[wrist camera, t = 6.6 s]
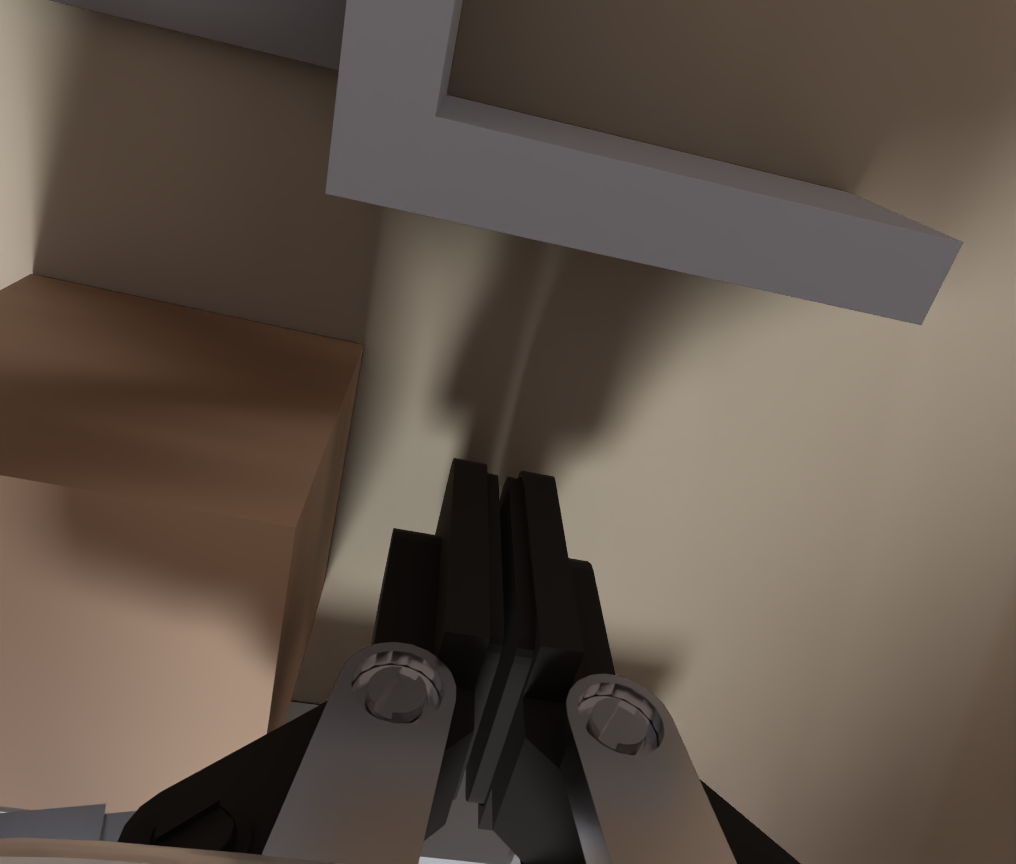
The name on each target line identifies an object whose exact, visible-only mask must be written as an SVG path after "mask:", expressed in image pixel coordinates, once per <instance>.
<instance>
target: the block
mask: <svg viewBox="0 0 1016 864" xmlns="http://www.w3.org/2000/svg"><path fill="white" fill-rule="evenodd" d="M363 348H364V345H362V344H357V343H352V342H347V341H343V340H338V339H333V338H329V337H324V336H319V335H315V334H310V333H305V332H301V331H296V330H291V329H287V328H282V327H277V326H272V325H268V324H263V323H258V322H254V321H249V320H244V319H240V318H235V317H230V316H226V315H221V314H216V313H212V312H207V311H202V310H198V309H193V308H188V307H183V306H179V305H174V304H169V303H165V302H160V301H155V300H151V299H146V298H141V297H137V296H132V295H127V294H123V293H118V292H113V291H108V290H104V289H99V288H94V287H90V286H85V285H80V284H76V283H71V282H66V281H62V280H57V279H52V278H48V277H43V276H38V275H34V274H30V275H28V276H26V277H25V278H23V279H21V280H19V281H17V282H15V283H13V284H11V285H10V286H8V287H6V288H4V289H2V290H0V806H3V807H11V808H19V809H28V810H40V809H51V808H62V807H73V806H84V805H95V804H106V814H107V813H118V812H128V811H137V810H138V808H139V807H140V806H141V805H143V804H144V803H146V802H147V801H148V800H150V799H151V798H153V797H154V796H155V795H157V794H158V793H160V792H161V791H163V790H165V789H167V788H169V787H171V786H172V785H174V784H176V783H178V782H180V781H182V780H183V779H185V778H187V777H189V776H191V775H193V774H194V773H196V772H198V771H200V770H202V769H204V768H205V767H207V766H209V765H211V764H213V763H215V762H216V761H218V760H220V759H222V758H224V757H226V756H227V755H229V754H231V753H233V752H235V751H236V750H238V749H240V748H242V747H244V746H246V745H247V744H249V743H251V742H253V741H255V740H257V739H258V738H260V737H262V736H264V735H266V734H268V733H269V732H271V731H273V730H275V729H277V728H279V727H280V726H282V725H284V724H285V720H286V717H287V713H288V710H289V706H290V702H291V699H292V695H293V692H294V688H295V685H296V681H297V678H298V674H299V671H300V667H301V664H302V660H303V657H304V653H305V650H306V646H307V643H308V639H309V636H310V632H311V629H312V625H313V622H314V618H315V614H316V611H317V607H318V604H319V600H320V597H321V593H322V590H323V586H324V580H325V574H326V568H327V562H328V556H329V550H330V544H331V538H332V532H333V526H334V520H335V514H336V508H337V503H338V497H339V491H340V485H341V479H342V473H343V467H344V461H345V455H346V449H347V443H348V437H349V431H350V425H351V419H352V413H353V407H354V401H355V395H356V389H357V383H358V377H359V371H360V365H361V359H362V354H363Z"/></svg>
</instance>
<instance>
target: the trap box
mask: <svg viewBox="0 0 1016 864" xmlns="http://www.w3.org/2000/svg"><path fill="white" fill-rule="evenodd" d="M51 1H55V2H59V3H63V4H68V5H72V6H76V7H80V8H84V9H88V10H92V11H96V12H101V13H105V14H109V15H113V16H117V17H121V18H125V19H129V20H134V21H138V22H142V23H146V24H150V25H154V26H158V27H162V28H166V29H171V30H175V31H179V32H183V33H187V34H191V35H195V36H199V37H204V38H208V39H212V40H216V41H220V42H224V43H228V44H232V45H236V46H241V47H245V48H249V49H253V50H257V51H261V52H265V53H269V54H274V55H278V56H282V57H286V58H290V59H294V60H298V61H302V62H307V63H311V64H315V65H319V66H323V67H327V68H331V69H335V70H339V74H338V83H337V92H336V101H335V110H334V119H333V128H332V137H331V146H330V155H329V164H328V173H327V182H326V191H325V194H329V195H334V196H338V197H343V198H348V199H352V200H357V201H361V202H366V203H370V204H375V205H379V206H384V207H388V208H393V209H397V210H402V211H406V212H411V213H415V214H420V215H425V216H429V217H434V218H438V219H443V220H447V221H452V222H456V223H461V224H465V225H470V226H474V227H479V228H483V229H488V230H493V231H497V232H502V233H506V234H511V235H515V236H520V237H524V238H529V239H533V240H538V241H542V242H547V243H551V244H556V245H560V246H565V247H570V248H574V249H579V250H583V251H588V252H592V253H597V254H601V255H606V256H610V257H615V258H619V259H624V260H628V261H633V262H637V263H642V264H647V265H651V266H656V267H660V268H665V269H669V270H674V271H678V272H683V273H687V274H692V275H696V276H701V277H705V278H710V279H714V280H719V281H724V282H728V283H733V284H737V285H742V286H746V287H751V288H755V289H760V290H764V291H769V292H773V293H778V294H782V295H787V296H791V297H796V298H801V299H805V300H810V301H814V302H819V303H823V304H828V305H832V306H837V307H841V308H846V309H850V310H855V311H859V312H864V313H868V314H873V315H878V316H882V317H887V318H891V319H896V320H900V321H905V322H909V323H914V324H918V325H922V323H923V321H924V319H925V317H926V315H927V313H928V311H929V309H930V307H931V305H932V303H933V301H934V299H935V297H936V295H937V293H938V291H939V289H940V287H941V285H942V283H943V281H944V279H945V277H946V275H947V273H948V271H949V269H950V267H951V265H952V263H953V261H954V259H955V257H956V255H957V253H958V251H959V249H960V247H961V245H962V243H963V242H961V241H959V240H956V239H954V238H952V237H949V236H947V235H945V234H943V233H940V232H938V231H936V230H933V229H931V228H929V227H927V226H924V225H922V224H920V223H917V222H915V221H913V220H910V219H908V218H906V217H904V216H901V215H899V214H897V213H894V212H892V211H890V210H888V209H885V208H883V207H881V206H878V205H876V204H874V203H872V202H869V201H867V200H865V199H862V198H860V197H858V196H856V195H853V194H851V193H849V192H845V191H841V190H837V189H833V188H829V187H825V186H820V185H816V184H812V183H808V182H804V181H800V180H796V179H792V178H787V177H783V176H779V175H775V174H771V173H767V172H763V171H759V170H755V169H750V168H746V167H742V166H738V165H734V164H730V163H726V162H722V161H718V160H713V159H709V158H705V157H701V156H697V155H693V154H689V153H685V152H681V151H676V150H672V149H668V148H664V147H660V146H656V145H652V144H648V143H644V142H639V141H635V140H631V139H627V138H623V137H619V136H615V135H611V134H606V133H602V132H598V131H594V130H590V129H586V128H582V127H578V126H574V125H569V124H565V123H561V122H557V121H553V120H549V119H545V118H541V117H537V116H532V115H528V114H524V113H520V112H516V111H512V110H508V109H504V108H500V107H495V106H491V105H487V104H483V103H479V102H475V101H471V100H467V99H463V98H458V97H454V96H450V95H447V90H448V84H449V78H450V73H451V67H452V61H453V55H454V50H455V44H456V38H457V32H458V26H459V21H460V15H461V9H462V3H463V0H51ZM317 706H319V705H314V704H306V703H298V702H290V706H289V710H288V713H287V717H286V720H285V724H286V723H288V722H290V721H291V720H293V719H295V718H297V717H299V716H301V715H302V714H304V713H306V712H308V711H310V710H312V709H313V708H315V707H317ZM465 783H466V769H465V772H464V775H463V779H462V782H461V785H460V788H459V792H458V795H457V798H456V799H455V800H453V801H452V804H451V808H450V811H449V814H448V817H447V821H446V824H445V825H444V826H443V827H442V828H440V829H439V830H438V831H436V832H435V833H434V834H433V835H431V836H430V837H429V838H428V839H426V840H425V841H424V842H423V846H422V850H421V854H420V859H419V863H418V864H507V857H508V853H509V850H510V848H509V847H508V846H507V845H506V844H505V843H504V842H503V841H502V840H501V839H500V837H499V836H498V835H497V834H496V833H495V832H494V831H491V830H483V829H478V803H473V802H467V801H466V797H465ZM18 811H29V810H28V809H19V808H11V807H3V806H0V813H7V812H18Z"/></svg>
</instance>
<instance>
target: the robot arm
mask: <svg viewBox="0 0 1016 864" xmlns="http://www.w3.org/2000/svg"><path fill="white" fill-rule="evenodd" d="M465 769H466V783H465V797H466V801H467V802H473V803H478V829H483V830H491V831H494V832H495V833H496V834H497V835H498V836H499V837H500V839H501V840H502V841H503V842H504V843H505V844H506V845H507V846H508V847H509V848H510V850H509V853H508V857H507V864H800V863H799V862H798V861H797V860H796V859H794V858H793V857H792V856H791V855H790V854H788V853H787V852H786V851H785V850H784V849H782V848H781V847H780V846H779V845H778V844H777V843H775V842H774V841H773V840H772V839H771V838H769V837H768V836H767V835H766V834H765V833H763V832H762V831H761V830H760V829H759V828H757V827H756V826H755V825H754V824H753V823H751V822H750V821H749V820H748V819H747V818H745V817H744V816H743V815H742V814H741V813H740V812H738V811H737V810H736V809H735V808H734V807H732V806H731V805H730V804H729V803H728V802H726V801H725V800H724V799H723V798H722V797H720V796H719V795H718V794H717V793H716V792H714V791H713V790H712V789H711V788H710V787H708V786H707V785H706V784H705V783H704V782H703V781H701V780H700V779H699V777H698V775H697V773H696V770H695V768H694V766H693V764H692V761H691V759H690V757H689V755H688V752H687V750H686V748H685V746H684V743H683V741H682V739H681V737H680V734H679V732H678V730H677V728H676V725H675V723H674V721H673V719H672V717H671V715H670V714H669V712H668V710H667V709H666V707H665V705H664V704H663V703H662V702H661V701H660V700H659V699H658V698H657V697H656V696H655V695H654V694H653V693H652V692H651V691H649V690H648V689H646V688H645V687H643V686H642V685H640V684H638V683H637V682H635V681H632V680H629V679H627V678H624V677H622V676H617V675H615V672H614V667H613V662H612V657H611V652H610V648H609V643H608V638H607V633H606V629H605V624H604V619H603V614H602V610H601V605H600V600H599V595H598V591H597V586H596V581H595V576H594V572H593V568H592V565H591V564H590V563H589V562H588V561H582V560H576V559H570V558H568V553H567V547H566V541H565V535H564V529H563V523H562V517H561V511H560V505H559V499H558V494H557V488H556V482H555V478H554V477H553V476H547V475H542V474H537V473H531V472H526V471H521V472H520V473H519V475H518V478H517V479H516V478H511V477H507V478H506V480H505V483H504V486H503V490H502V494H501V497H500V501H499V481H498V475H494V474H489V473H487V464H483V463H478V462H472V461H467V460H462V459H456V458H454V459H453V462H452V465H451V469H450V473H449V478H448V482H447V486H446V491H445V495H444V499H443V503H442V508H441V512H440V516H439V521H438V525H437V529H436V533H435V535H431V534H425V533H419V532H413V531H407V530H402V529H396V528H394V529H393V533H392V538H391V543H390V548H389V553H388V558H387V563H386V568H385V573H384V578H383V583H382V588H381V594H380V599H379V604H378V610H377V615H376V621H375V626H374V632H373V638H372V643H371V646H369V647H366V648H363V649H361V650H360V651H358V652H357V653H356V654H354V655H353V656H351V657H350V658H349V659H348V661H347V662H346V664H345V665H344V667H343V668H342V669H341V671H340V674H339V676H338V678H337V681H336V683H335V685H334V688H333V690H332V692H331V695H330V697H329V699H328V701H326V702H324V703H323V704H321V705H319V706H317V707H315V708H313V709H312V710H310V711H308V712H306V713H304V714H302V715H301V716H299V717H297V718H295V719H293V720H291V721H290V722H288V723H286V724H284V725H282V726H280V727H279V728H277V729H275V730H273V731H271V732H269V733H268V734H266V735H264V736H262V737H260V738H258V739H257V740H255V741H253V742H251V743H249V744H247V745H246V746H244V747H242V748H240V749H238V750H236V751H235V752H233V753H231V754H229V755H227V756H226V757H224V758H222V759H220V760H218V761H216V762H215V763H213V764H211V765H209V766H207V767H205V768H204V769H202V770H200V771H198V772H196V773H194V774H193V775H191V776H189V777H187V778H185V779H183V780H182V781H180V782H178V783H176V784H174V785H172V786H171V787H169V788H167V789H165V790H163V791H161V792H160V793H158V794H157V795H155V796H154V797H153V798H151V799H150V800H148V801H147V802H146V803H144V804H143V805H141V806H140V807H139V808H138V810H137V811H128V812H118V813H107V814H106V804H95V805H84V806H73V807H62V808H51V809H40V810H29V811H18V812H7V813H0V864H418V863H419V859H420V854H421V850H422V846H423V842H424V841H425V840H426V839H428V838H429V837H430V836H431V835H433V834H434V833H435V832H436V831H438V830H439V829H440V828H442V827H443V826H444V825H445V824H446V821H447V817H448V814H449V811H450V808H451V804H452V801H453V800H455V799H456V798H457V795H458V792H459V788H460V785H461V782H462V779H463V775H464V772H465Z"/></svg>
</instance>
